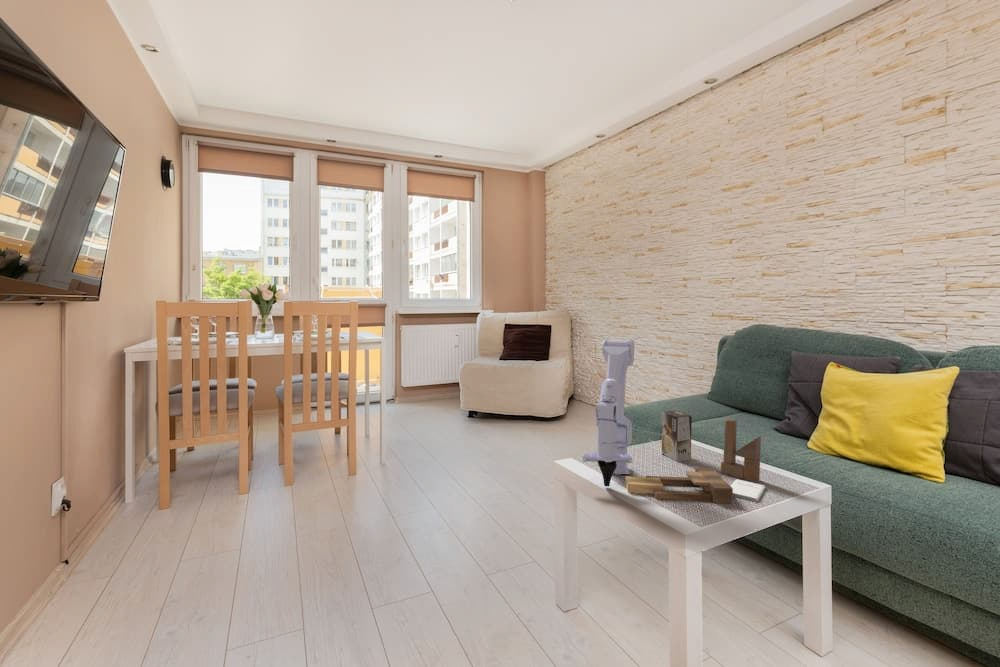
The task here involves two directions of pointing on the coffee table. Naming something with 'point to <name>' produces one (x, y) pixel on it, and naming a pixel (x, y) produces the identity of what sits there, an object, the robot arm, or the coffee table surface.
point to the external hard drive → (747, 490)
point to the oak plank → (643, 484)
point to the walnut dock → (705, 478)
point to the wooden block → (748, 452)
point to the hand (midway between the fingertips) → (606, 485)
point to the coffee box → (676, 435)
